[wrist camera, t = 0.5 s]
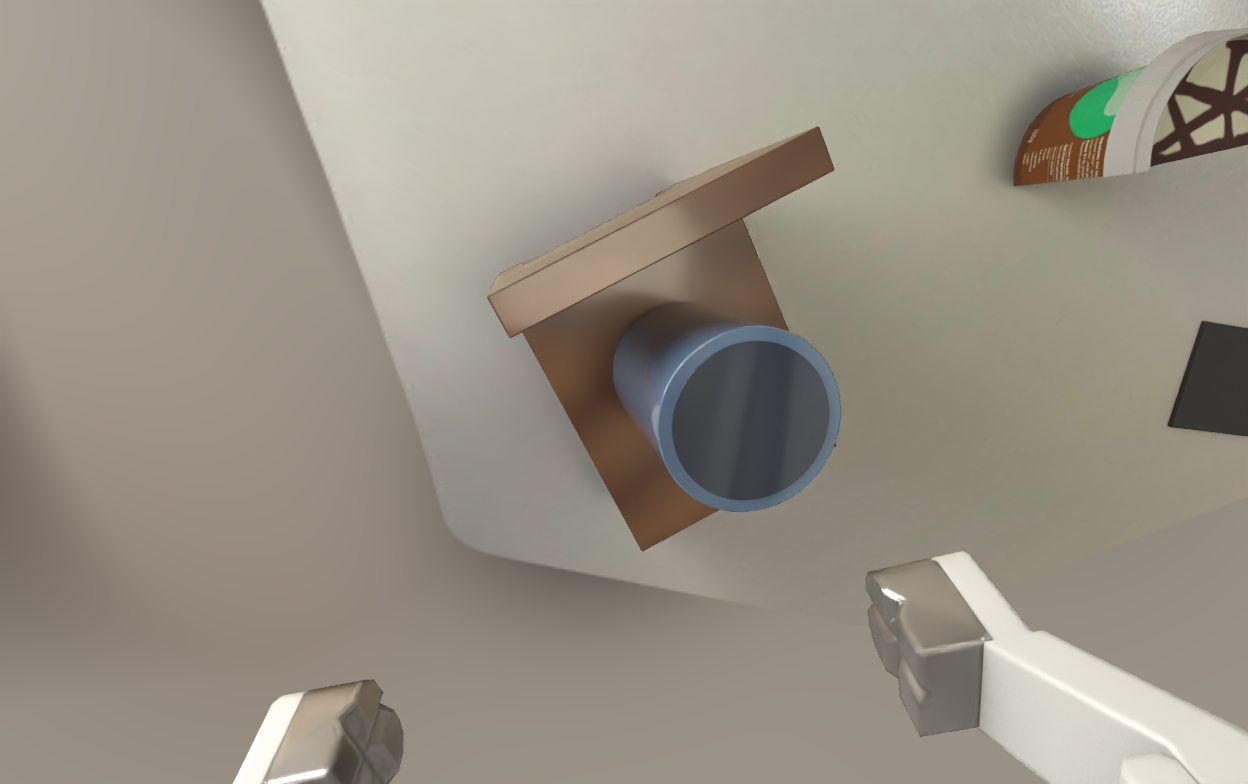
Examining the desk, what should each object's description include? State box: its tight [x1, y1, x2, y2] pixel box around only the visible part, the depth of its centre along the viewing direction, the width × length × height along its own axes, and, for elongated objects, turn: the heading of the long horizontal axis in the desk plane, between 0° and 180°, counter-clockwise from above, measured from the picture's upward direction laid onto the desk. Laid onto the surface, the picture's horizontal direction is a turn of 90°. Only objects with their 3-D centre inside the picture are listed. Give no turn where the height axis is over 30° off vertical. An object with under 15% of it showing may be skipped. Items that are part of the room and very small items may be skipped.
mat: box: [1168, 321, 1248, 436], centre depth 48 cm, size 8×8×1 cm
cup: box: [613, 302, 841, 512], centre depth 27 cm, size 7×7×10 cm
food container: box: [1014, 28, 1248, 186], centre depth 36 cm, size 12×6×10 cm, turn 102°
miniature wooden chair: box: [487, 127, 836, 551], centre depth 31 cm, size 16×12×18 cm
